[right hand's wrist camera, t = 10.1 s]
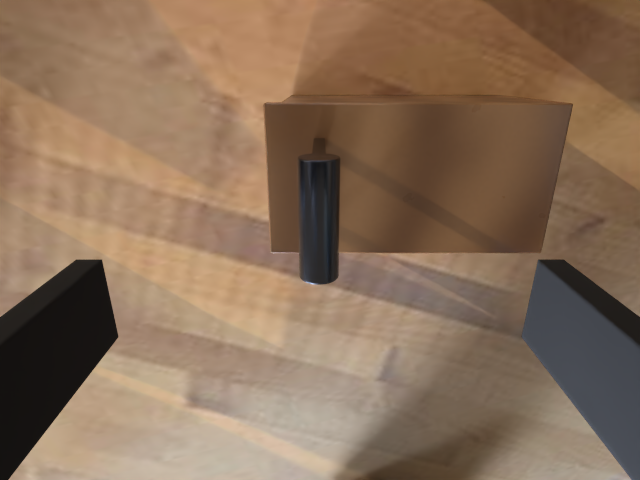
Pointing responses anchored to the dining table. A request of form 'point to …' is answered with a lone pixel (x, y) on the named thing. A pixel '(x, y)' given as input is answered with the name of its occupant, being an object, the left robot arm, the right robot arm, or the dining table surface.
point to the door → (409, 178)
